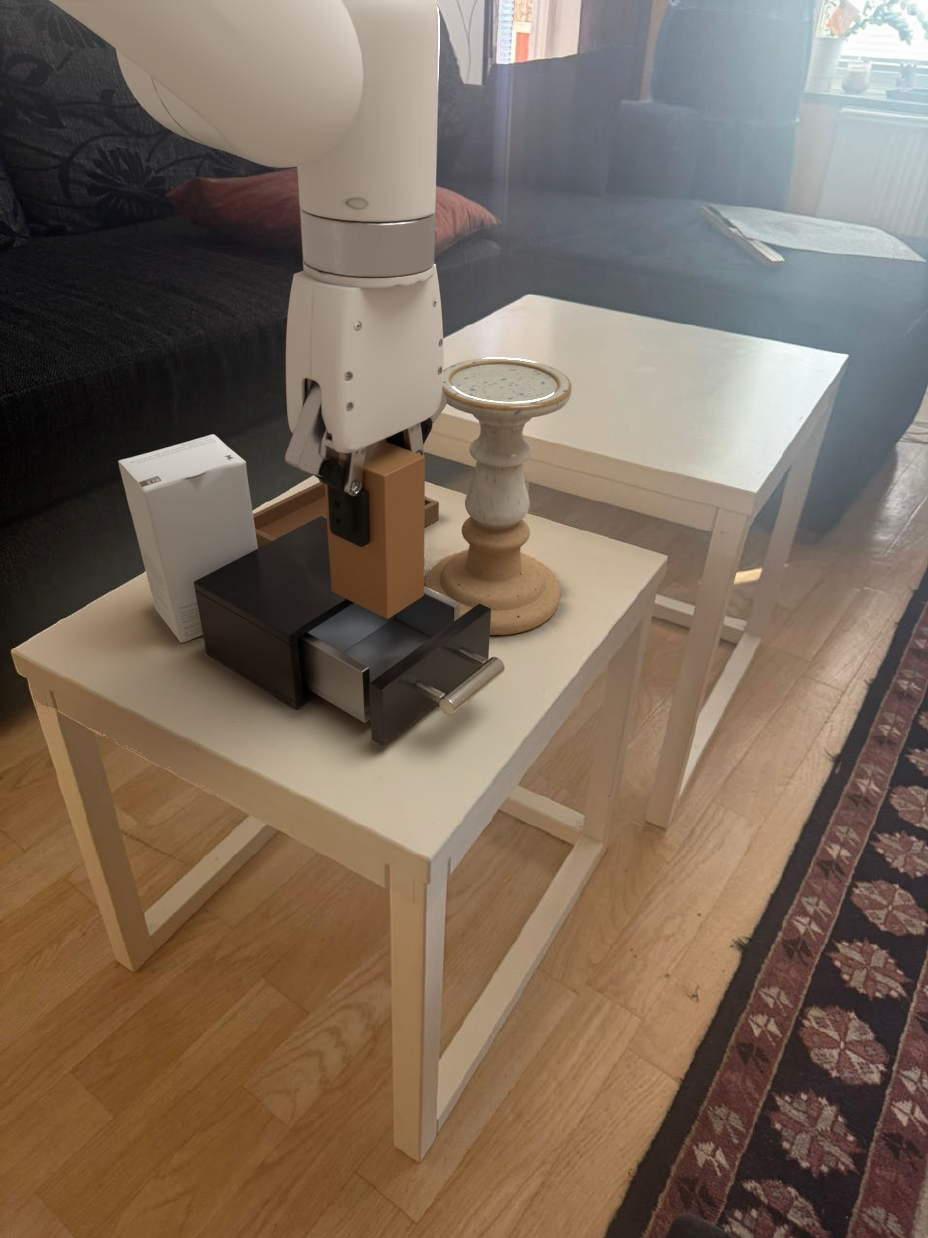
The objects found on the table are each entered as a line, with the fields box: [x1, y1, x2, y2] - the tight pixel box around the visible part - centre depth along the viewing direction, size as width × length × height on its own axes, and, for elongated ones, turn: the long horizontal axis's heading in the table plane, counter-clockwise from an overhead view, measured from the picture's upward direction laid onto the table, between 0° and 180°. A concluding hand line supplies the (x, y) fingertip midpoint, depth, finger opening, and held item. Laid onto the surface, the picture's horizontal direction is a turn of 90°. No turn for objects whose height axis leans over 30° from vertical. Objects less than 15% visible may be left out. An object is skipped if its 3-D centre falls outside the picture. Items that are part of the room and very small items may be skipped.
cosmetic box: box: [117, 433, 258, 644], centre depth 71 cm, size 8×6×15 cm
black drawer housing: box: [194, 516, 354, 711], centre depth 70 cm, size 11×14×7 cm
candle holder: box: [424, 357, 573, 636], centre depth 73 cm, size 12×12×20 cm
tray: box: [253, 481, 440, 548], centre depth 86 cm, size 16×12×2 cm
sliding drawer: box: [297, 586, 505, 748], centre depth 65 cm, size 13×12×5 cm
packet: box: [325, 440, 426, 619], centre depth 60 cm, size 4×6×11 cm
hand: (373, 523), depth 60 cm, fingers closed on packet, 4 cm apart
